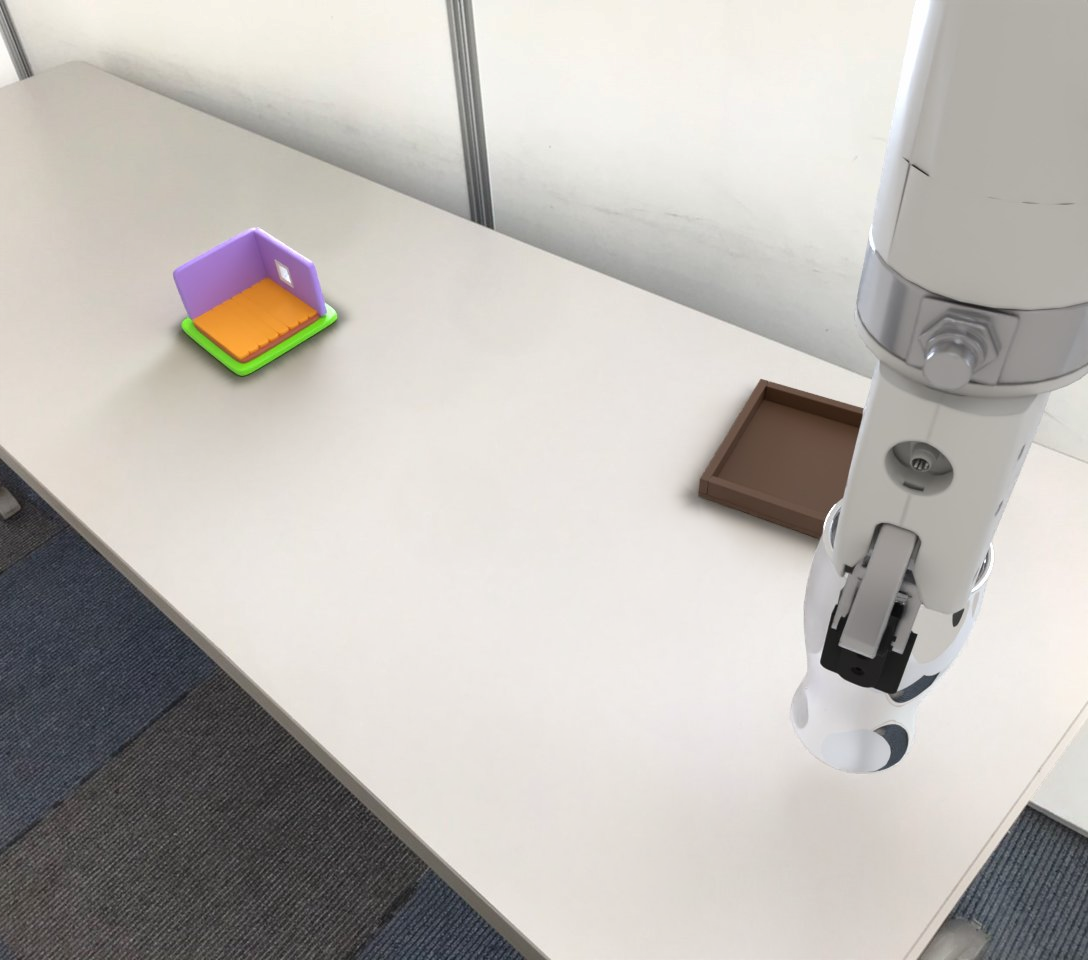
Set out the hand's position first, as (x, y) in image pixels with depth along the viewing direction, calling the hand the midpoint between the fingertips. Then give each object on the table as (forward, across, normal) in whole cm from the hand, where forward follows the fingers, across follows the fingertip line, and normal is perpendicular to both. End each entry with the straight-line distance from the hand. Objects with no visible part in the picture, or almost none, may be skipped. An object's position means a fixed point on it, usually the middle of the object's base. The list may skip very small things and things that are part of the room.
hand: (886, 608), depth 44 cm
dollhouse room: (+18, +21, +63) cm, 69 cm away
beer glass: (+10, 0, 0) cm, 10 cm away
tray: (+19, +25, +10) cm, 33 cm away
